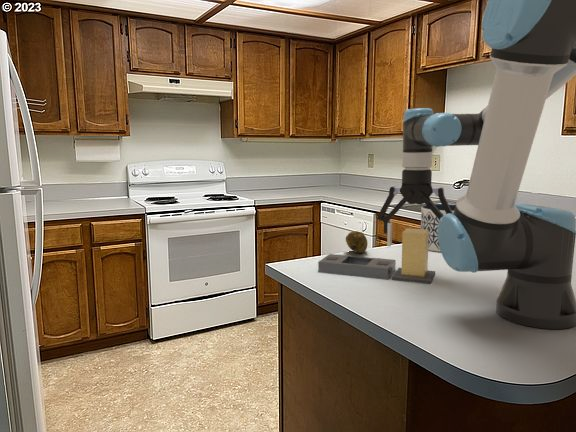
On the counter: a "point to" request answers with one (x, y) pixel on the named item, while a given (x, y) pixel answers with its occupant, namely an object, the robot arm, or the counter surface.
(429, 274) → the pad
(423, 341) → the counter surface
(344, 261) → the grey slotted block
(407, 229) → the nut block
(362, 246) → the potato
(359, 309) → the counter surface
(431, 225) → the planter
